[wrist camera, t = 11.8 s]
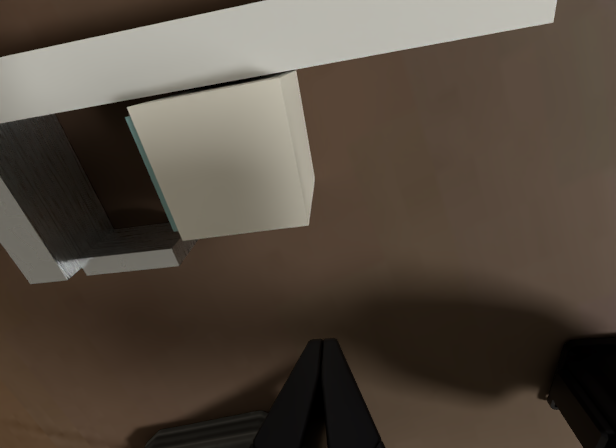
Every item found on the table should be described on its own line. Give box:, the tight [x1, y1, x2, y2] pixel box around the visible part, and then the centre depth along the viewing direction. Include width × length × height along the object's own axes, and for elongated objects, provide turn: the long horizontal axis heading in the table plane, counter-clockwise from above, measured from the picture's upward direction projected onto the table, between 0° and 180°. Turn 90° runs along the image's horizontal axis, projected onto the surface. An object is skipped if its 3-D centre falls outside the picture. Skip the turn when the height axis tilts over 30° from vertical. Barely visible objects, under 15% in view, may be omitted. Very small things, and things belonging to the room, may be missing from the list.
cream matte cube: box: [125, 70, 315, 241], centre depth 13 cm, size 5×5×5 cm
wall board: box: [0, 0, 557, 123], centre depth 12 cm, size 22×2×4 cm, turn 99°
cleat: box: [0, 114, 198, 284], centre depth 15 cm, size 7×8×4 cm
